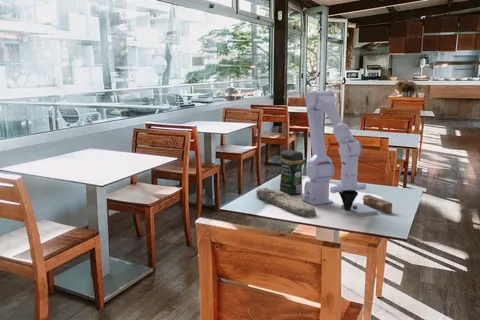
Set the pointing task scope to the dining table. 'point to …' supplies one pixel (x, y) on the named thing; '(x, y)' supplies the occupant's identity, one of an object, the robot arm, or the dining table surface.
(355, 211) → the door panel
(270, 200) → the long grey stone
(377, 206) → the brown long block
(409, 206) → the dining table surface
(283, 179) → the coffee jar
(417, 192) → the dining table surface
